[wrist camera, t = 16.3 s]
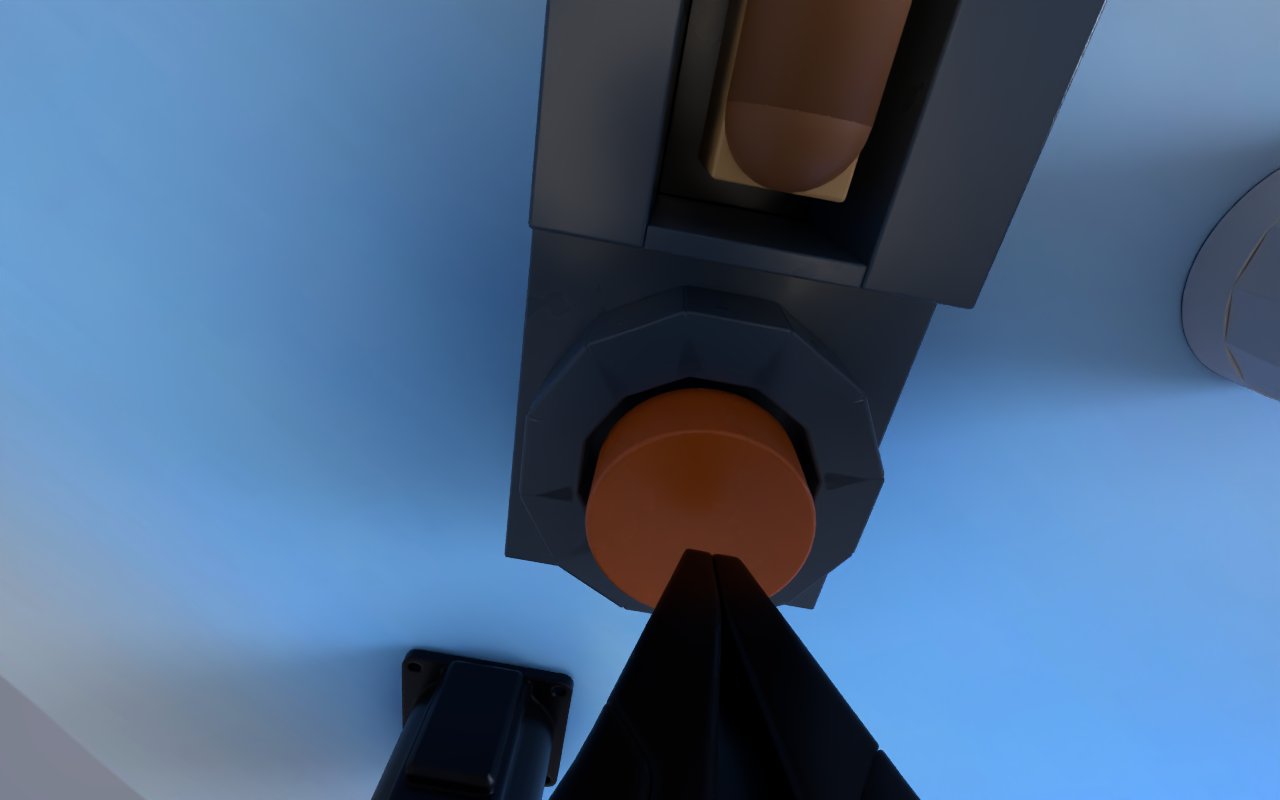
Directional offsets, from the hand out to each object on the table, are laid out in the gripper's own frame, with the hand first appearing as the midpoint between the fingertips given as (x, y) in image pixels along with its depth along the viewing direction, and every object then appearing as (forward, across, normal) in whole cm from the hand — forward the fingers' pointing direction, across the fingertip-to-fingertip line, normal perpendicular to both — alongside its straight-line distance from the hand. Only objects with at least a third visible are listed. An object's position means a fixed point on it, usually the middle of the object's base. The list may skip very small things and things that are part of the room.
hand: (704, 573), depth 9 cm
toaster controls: (+8, 0, 0) cm, 9 cm away
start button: (+3, 0, 0) cm, 3 cm away
